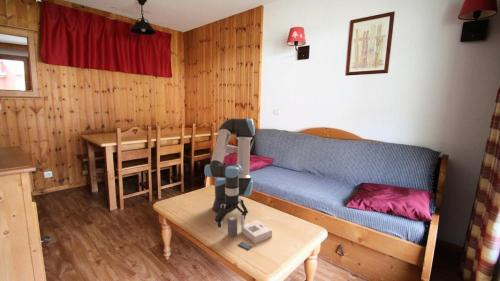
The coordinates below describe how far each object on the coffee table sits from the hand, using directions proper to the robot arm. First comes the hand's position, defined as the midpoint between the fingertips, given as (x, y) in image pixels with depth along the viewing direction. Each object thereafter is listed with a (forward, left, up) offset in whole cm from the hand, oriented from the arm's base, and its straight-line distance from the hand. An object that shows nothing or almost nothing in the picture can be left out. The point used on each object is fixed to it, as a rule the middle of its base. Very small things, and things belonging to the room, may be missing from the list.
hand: (231, 229), depth 140 cm
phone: (+13, +1, -5) cm, 14 cm away
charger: (0, +1, -4) cm, 4 cm away
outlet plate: (+7, +13, -4) cm, 15 cm away
